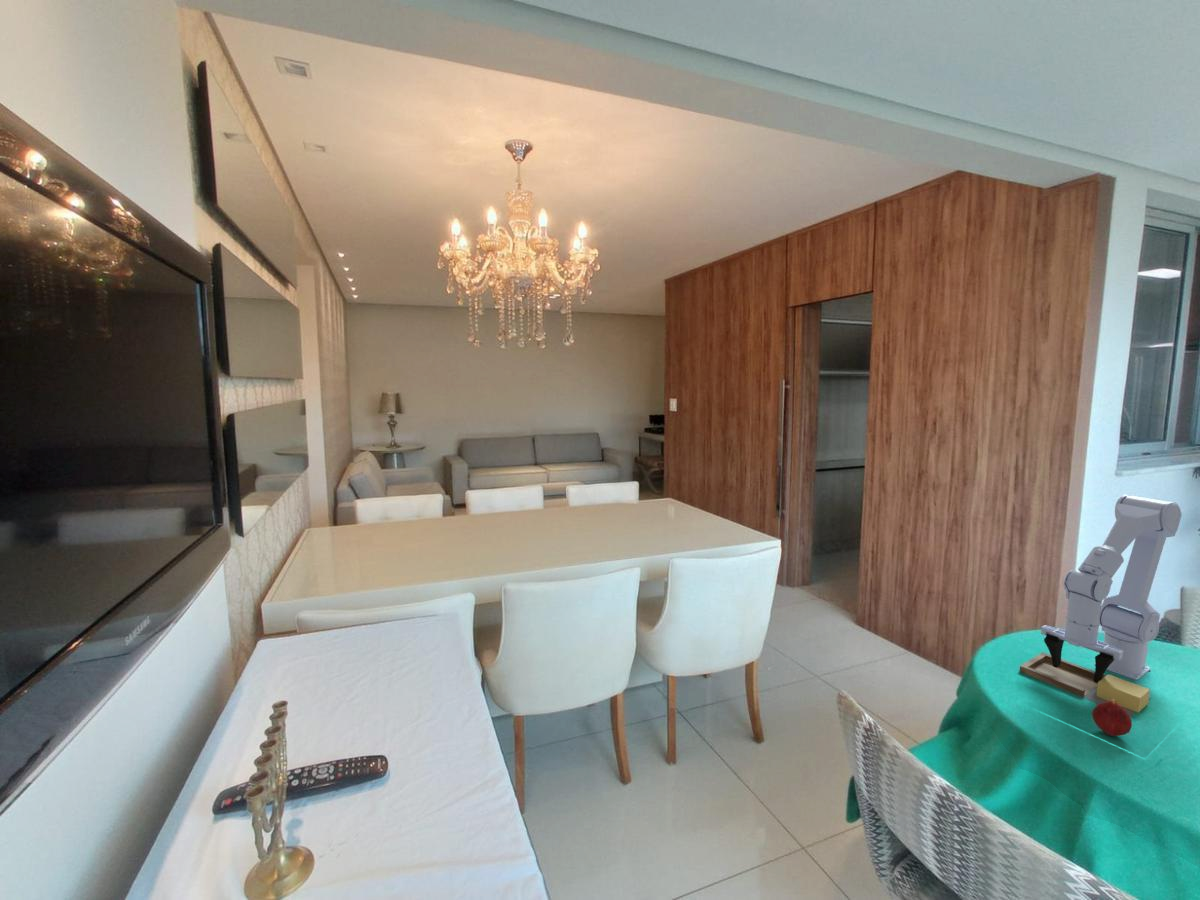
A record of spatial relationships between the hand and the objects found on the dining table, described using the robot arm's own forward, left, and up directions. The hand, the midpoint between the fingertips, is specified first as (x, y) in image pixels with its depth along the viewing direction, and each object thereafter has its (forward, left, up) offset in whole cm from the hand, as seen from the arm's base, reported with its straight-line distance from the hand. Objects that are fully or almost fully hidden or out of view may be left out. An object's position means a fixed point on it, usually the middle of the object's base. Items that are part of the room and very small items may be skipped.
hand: (1076, 673), depth 125 cm
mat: (0, +7, -2) cm, 8 cm away
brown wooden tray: (0, -3, -2) cm, 4 cm away
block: (0, +8, -2) cm, 9 cm away
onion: (+17, +11, -3) cm, 21 cm away
